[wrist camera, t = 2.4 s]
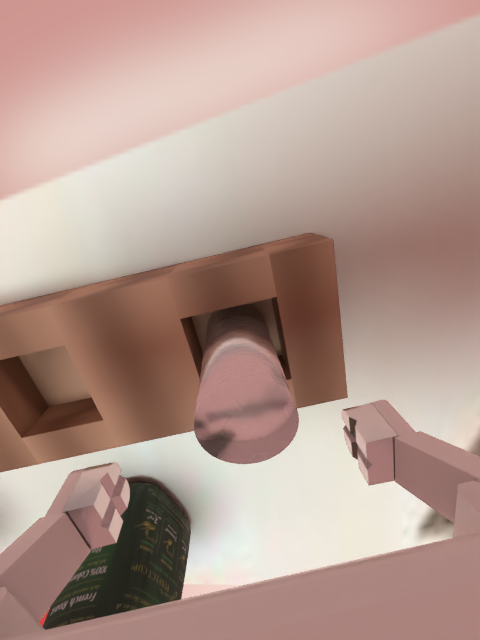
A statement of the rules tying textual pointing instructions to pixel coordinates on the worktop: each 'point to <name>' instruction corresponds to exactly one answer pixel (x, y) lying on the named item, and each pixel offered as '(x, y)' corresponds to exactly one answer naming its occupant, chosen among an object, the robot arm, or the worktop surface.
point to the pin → (243, 390)
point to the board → (158, 348)
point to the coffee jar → (130, 563)
